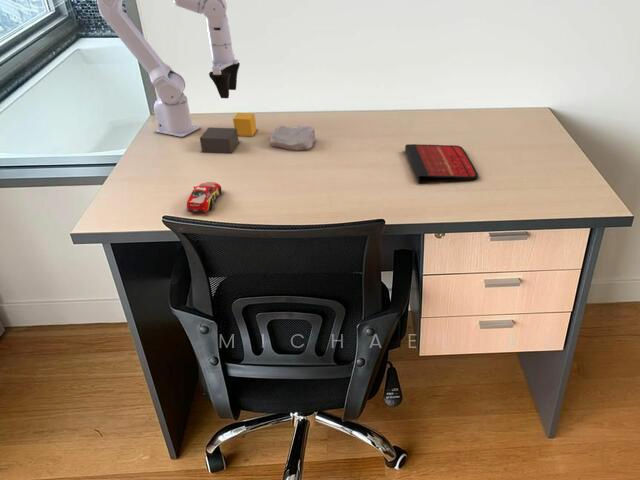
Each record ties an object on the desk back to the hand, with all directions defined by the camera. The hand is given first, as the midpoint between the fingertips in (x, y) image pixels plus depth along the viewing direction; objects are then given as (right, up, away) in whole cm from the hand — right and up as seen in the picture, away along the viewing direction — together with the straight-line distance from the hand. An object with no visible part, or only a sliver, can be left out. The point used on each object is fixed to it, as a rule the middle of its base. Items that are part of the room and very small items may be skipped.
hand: (228, 93), depth 170 cm
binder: (+60, -24, -13) cm, 66 cm away
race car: (+4, -37, -32) cm, 49 cm away
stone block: (+19, -16, -3) cm, 25 cm away
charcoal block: (-1, -17, -5) cm, 17 cm away
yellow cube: (+4, -10, +4) cm, 12 cm away
